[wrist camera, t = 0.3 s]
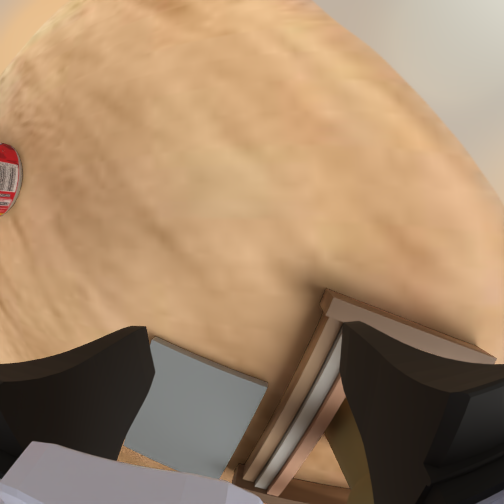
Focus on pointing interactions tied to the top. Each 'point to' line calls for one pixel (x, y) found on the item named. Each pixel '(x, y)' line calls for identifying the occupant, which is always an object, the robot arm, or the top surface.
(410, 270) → the top surface
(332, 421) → the olive brown pear shape
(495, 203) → the top surface
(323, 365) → the offcut rack
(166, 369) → the slate tile
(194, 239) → the top surface
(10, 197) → the soda can
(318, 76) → the top surface
